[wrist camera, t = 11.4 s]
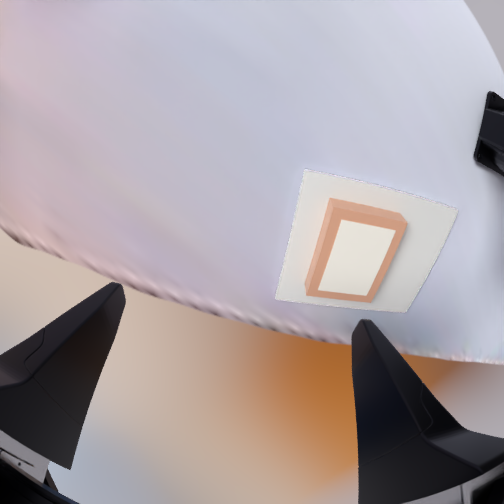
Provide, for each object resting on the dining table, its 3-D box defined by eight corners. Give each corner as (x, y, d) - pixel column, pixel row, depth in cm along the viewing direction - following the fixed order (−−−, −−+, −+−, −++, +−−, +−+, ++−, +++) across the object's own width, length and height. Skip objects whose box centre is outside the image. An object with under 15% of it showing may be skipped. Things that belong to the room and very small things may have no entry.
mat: (455, 208, 19) (458, 210, 18) (404, 309, 25) (405, 312, 25) (304, 168, 18) (305, 170, 18) (275, 295, 25) (275, 299, 25)
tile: (408, 223, 18) (333, 207, 18) (371, 303, 22) (305, 296, 22) (399, 213, 19) (329, 197, 19) (366, 290, 24) (304, 283, 23)
